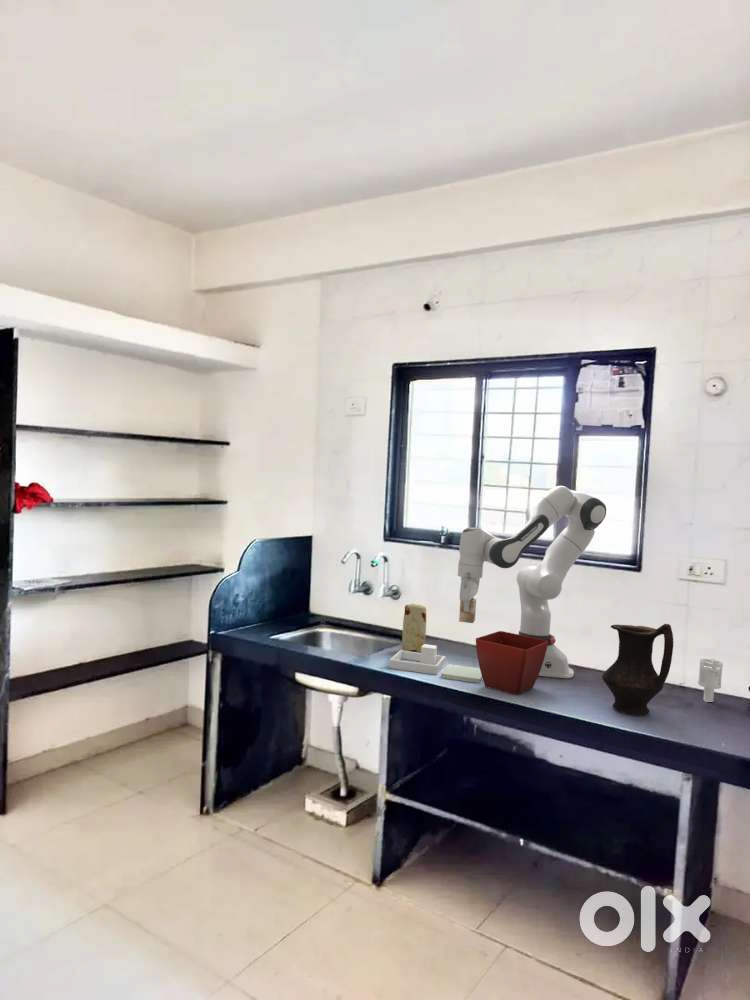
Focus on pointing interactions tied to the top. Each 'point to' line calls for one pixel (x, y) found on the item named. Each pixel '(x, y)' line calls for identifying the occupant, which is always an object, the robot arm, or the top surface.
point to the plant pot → (510, 661)
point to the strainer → (710, 677)
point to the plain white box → (428, 654)
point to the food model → (414, 628)
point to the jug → (637, 668)
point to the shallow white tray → (415, 667)
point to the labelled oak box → (469, 615)
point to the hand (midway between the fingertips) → (467, 609)
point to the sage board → (462, 673)
